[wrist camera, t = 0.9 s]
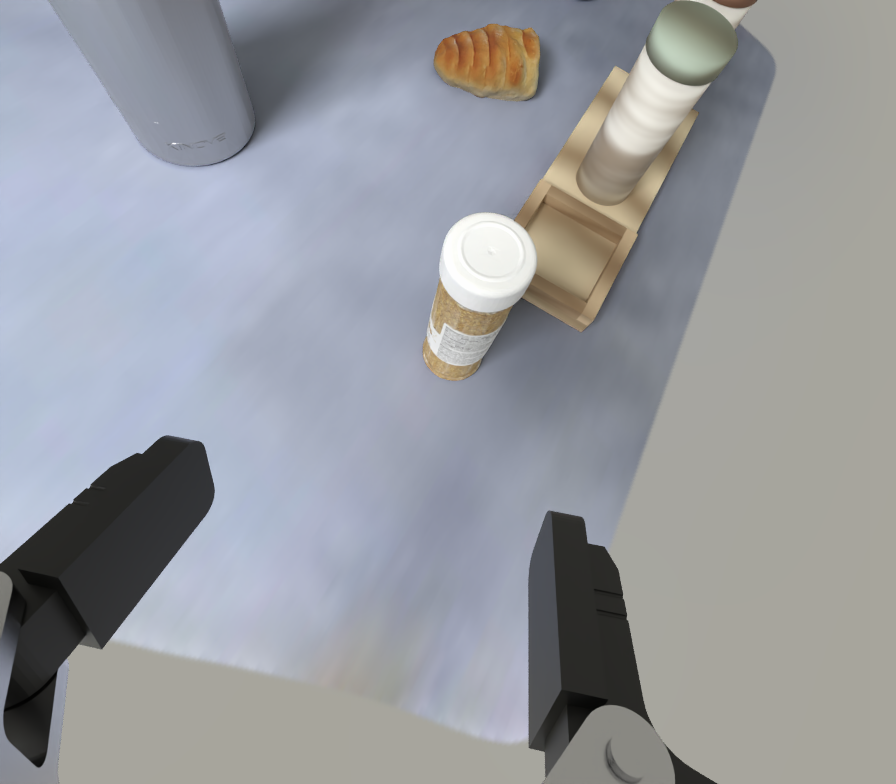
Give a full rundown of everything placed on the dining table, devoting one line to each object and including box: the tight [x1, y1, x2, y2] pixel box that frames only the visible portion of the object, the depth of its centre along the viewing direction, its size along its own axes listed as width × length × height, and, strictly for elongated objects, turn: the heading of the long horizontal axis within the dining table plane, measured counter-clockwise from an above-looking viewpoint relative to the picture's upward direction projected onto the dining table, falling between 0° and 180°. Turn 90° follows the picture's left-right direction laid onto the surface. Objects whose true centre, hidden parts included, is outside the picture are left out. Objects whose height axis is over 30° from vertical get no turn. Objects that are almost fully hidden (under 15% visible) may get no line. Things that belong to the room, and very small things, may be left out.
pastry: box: [434, 24, 540, 101], centre depth 40 cm, size 9×7×4 cm
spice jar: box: [423, 213, 537, 381], centre depth 27 cm, size 5×5×13 cm
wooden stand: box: [514, 0, 757, 332], centre depth 33 cm, size 26×9×14 cm, turn 150°
